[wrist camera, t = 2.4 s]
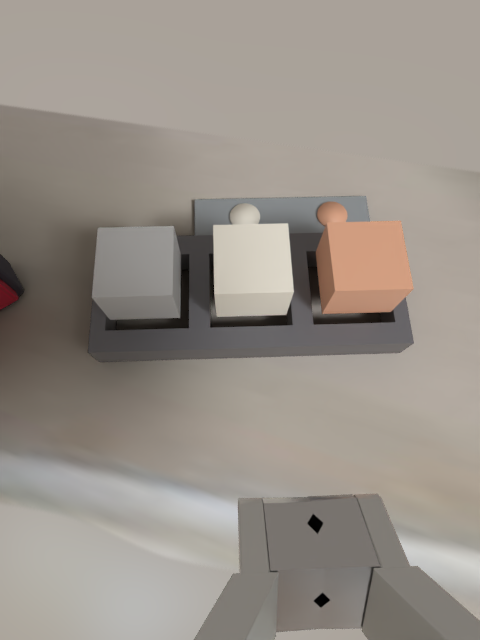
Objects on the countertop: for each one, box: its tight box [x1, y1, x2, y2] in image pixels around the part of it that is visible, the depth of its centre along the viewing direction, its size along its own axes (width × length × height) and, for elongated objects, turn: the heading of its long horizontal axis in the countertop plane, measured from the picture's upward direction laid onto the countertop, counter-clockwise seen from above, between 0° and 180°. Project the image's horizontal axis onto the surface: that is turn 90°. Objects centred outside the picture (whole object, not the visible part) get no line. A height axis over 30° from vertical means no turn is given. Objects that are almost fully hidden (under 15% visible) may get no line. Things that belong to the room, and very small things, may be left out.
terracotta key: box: [316, 221, 414, 314], centre depth 27 cm, size 5×5×4 cm
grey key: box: [92, 226, 181, 320], centre depth 27 cm, size 5×5×4 cm
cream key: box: [213, 223, 294, 317], centre depth 27 cm, size 5×5×4 cm
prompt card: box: [195, 196, 370, 236], centre depth 34 cm, size 14×4×1 cm, turn 92°
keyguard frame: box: [88, 233, 414, 362], centre depth 30 cm, size 22×9×2 cm, turn 92°
